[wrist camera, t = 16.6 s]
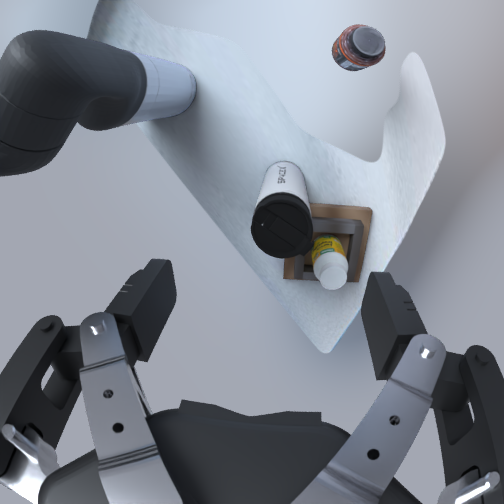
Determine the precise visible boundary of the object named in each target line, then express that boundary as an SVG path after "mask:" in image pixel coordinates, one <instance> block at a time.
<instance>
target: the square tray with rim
mask: <svg viewBox="0 0 504 504" xmlns="http://www.w3.org/2000/svg"><path fill="white" fill-rule="evenodd" d="M309 205H310V210H311V216H312V224H313V237H312V240H311V242H312V241H314V240H315V239H316V238H317V237H319V236H321V235H324V234H329V235H333V236H335V237H337V238H338V239H339V240H340V242H341V244H342V247H343V250H344V253H345V256H346V259H347V262H348V272H347V280H346V282H359V278H360V273H361V269H362V264H363V259H364V254H365V249H366V244H367V239H368V233H369V228H370V222H371V216H372V210H371V208H369V207H357V206H345V205H331V204H317V203H309ZM283 279H297V280H316V281H320V280H318V279H317V277H316V276H315V274H314V269H313V262H312V255H311V249H310V251H309V252H308V253H307V254H306V255H305V256H302V255H301V254H299V255H297V256H295V257H291V258H285V260H284V276H283Z"/></svg>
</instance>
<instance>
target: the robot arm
mask: <svg viewBox="0 0 504 504" xmlns="http://www.w3.org/2000/svg"><path fill="white" fill-rule="evenodd" d="M195 93H196V81H195V78H194V76H193V74H192V73H191V71H190V70H189V69H187V68H186V67H184V66H183V65H180V64H177V63H174V62H171V61H167V60H164V59H160V58H156V57H152V56H149V55H145V54H141V53H136V52H131V51H127V50H122V49H119V48H116V47H113V46H111V45H108V44H105V43H102V42H98V41H94V40H89V39H84V38H80V37H76V36H72V35H68V34H63V33H59V32H54V31H47V30H34V31H28V32H25V33H22V34H20V35H18V36H16V37H15V38H14V39H13V40H12V41H11V42H10V43H9V45H8V46H7V48H6V50H5V52H4V53H3V55H2V57H1V59H0V176H10V175H18V174H24V173H27V172H32V171H35V170H37V169H40V168H42V167H43V166H45V165H47V164H48V163H49V162H50V161H52V159H53V158H54V157H55V156H56V155H57V153H58V152H59V151H60V149H61V148H62V146H63V145H64V143H65V141H66V139H67V138H68V136H69V134H70V133H71V131H72V130H73V128H74V126H75V125H76V123H77V122H78V123H79V124H80V125H81V126H83V127H84V128H87V129H90V130H94V131H95V130H96V131H102V130H108V129H112V128H116V127H120V126H124V125H128V124H133V123H138V122H143V121H148V120H153V119H159V118H165V117H171V116H175V115H178V114H180V113H182V112H183V111H185V110H186V109H187V108H188V107H189V106H190V104H191V103H192V101H193V99H194V97H195ZM176 296H177V294H176V286H175V280H174V275H173V269H172V264H171V261H170V260H164V259H151V260H150V262H149V263H148V264H147V266H146V267H145V268H144V270H139V271H137V272H136V273H135V274H133V275H131V276H130V278H129V279H128V280H127V281H126V283H125V285H123V287H122V288H121V290H120V292H118V294H117V295H116V296H115V298H114V299H113V300H112V302H111V303H110V305H109V306H108V307H107V308H106V310H105V311H104V312H98V313H94V314H92V315H90V316H88V317H87V318H85V319H84V320H83V322H82V323H81V325H80V326H64V324H63V322H62V320H61V318H59V317H58V316H55V315H50V316H46V317H44V318H42V319H40V320H39V321H38V322H37V323H36V324H35V325H34V326H33V328H32V329H31V330H30V332H29V333H28V334H27V336H26V337H25V338H24V340H23V341H22V343H21V344H20V346H19V347H18V348H17V350H16V351H15V353H14V354H13V356H12V357H11V359H10V360H9V362H8V363H7V365H6V367H5V368H4V369H3V371H2V372H1V374H0V484H2V485H3V486H5V487H7V488H8V489H10V490H14V491H15V492H17V493H19V494H20V495H22V496H24V497H25V498H27V499H28V500H30V501H31V502H33V503H35V504H422V503H421V502H420V501H419V500H418V499H416V498H415V497H414V496H413V495H412V494H411V493H410V492H409V491H408V490H407V489H406V488H405V487H404V486H403V485H402V484H401V483H400V482H398V480H396V479H395V478H394V475H395V473H396V472H397V470H398V468H399V467H400V465H401V463H402V462H403V460H404V458H405V456H406V455H407V453H408V451H409V449H410V447H411V445H412V444H413V442H414V440H415V438H416V436H417V434H418V432H419V430H420V428H421V426H422V424H423V421H424V419H425V417H426V415H427V413H428V410H429V408H433V409H434V414H435V418H436V423H437V428H438V434H439V440H440V445H441V452H442V459H443V466H444V474H445V483H446V487H445V489H444V490H443V491H442V492H441V494H440V496H439V499H438V503H437V504H504V378H503V376H502V373H501V371H500V368H499V366H498V364H497V362H496V360H495V357H494V356H493V354H492V353H491V352H490V351H489V350H488V349H486V348H485V347H483V346H479V345H474V346H471V347H469V349H467V351H466V353H465V354H464V355H461V354H456V353H452V352H447V351H446V349H445V346H444V345H443V343H442V342H441V341H440V340H439V339H437V338H436V337H434V336H432V335H428V333H427V331H426V329H425V327H424V324H423V322H422V320H421V318H420V316H419V313H418V311H416V307H415V305H414V303H413V301H412V299H411V297H410V295H409V293H408V292H407V291H406V290H405V289H404V288H403V287H402V286H400V285H395V283H394V280H393V278H392V276H391V274H390V273H389V272H371V273H370V275H369V278H368V282H367V286H366V290H365V294H364V298H363V301H362V307H361V315H362V320H363V324H364V328H365V332H366V336H367V340H368V345H369V349H370V353H371V357H372V362H373V366H374V371H375V376H376V380H387V383H386V385H385V386H384V388H383V389H382V391H381V393H380V394H379V396H378V397H377V399H376V400H375V402H374V403H373V405H372V406H371V408H370V409H369V411H368V413H367V414H366V415H365V417H364V418H363V420H362V421H361V422H360V424H359V425H358V426H357V428H356V429H355V431H354V432H353V433H352V435H350V434H349V433H348V432H346V431H345V430H343V429H341V428H339V427H337V426H335V425H332V424H329V423H326V422H322V421H321V412H290V411H286V412H280V413H273V414H266V415H259V416H245V415H242V414H239V413H236V412H233V411H231V410H228V409H225V408H222V407H219V406H217V405H213V404H206V403H200V402H194V401H188V400H182V401H181V404H180V407H179V409H170V410H164V411H160V412H157V413H154V414H153V413H152V411H151V409H150V407H149V404H148V402H147V399H146V396H145V394H144V391H143V389H142V386H141V383H140V380H139V378H138V375H137V372H136V369H135V367H134V365H135V363H136V361H137V360H139V361H144V362H148V360H149V358H150V355H151V353H152V351H153V349H154V347H155V345H156V343H157V341H158V339H159V336H160V334H161V332H162V330H163V328H164V326H165V324H166V322H167V320H168V318H169V315H170V314H171V312H172V310H173V308H174V305H175V303H176ZM50 364H51V366H52V367H53V369H54V371H53V373H52V375H51V377H50V378H49V380H48V382H47V384H46V386H45V388H44V389H43V391H42V388H41V381H42V378H43V376H44V375H45V373H46V371H47V369H48V368H49V366H50ZM81 390H82V391H83V397H84V402H85V407H86V412H87V416H88V421H89V425H90V430H91V434H92V438H93V441H94V445H95V449H94V450H92V451H91V452H88V453H87V454H85V455H83V456H81V457H80V458H78V459H76V460H74V461H72V462H70V463H69V464H67V465H65V466H63V467H61V468H60V467H59V464H58V463H57V455H56V452H55V449H56V447H57V444H58V442H59V439H60V437H61V435H62V432H63V430H64V428H65V425H66V423H67V421H68V418H69V416H70V414H71V412H72V410H73V407H74V405H75V403H76V401H77V398H78V397H79V395H80V392H81ZM469 402H471V406H472V409H473V413H474V418H475V419H474V423H473V419H472V415H471V412H470V408H469V405H468V403H469Z"/></svg>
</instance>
